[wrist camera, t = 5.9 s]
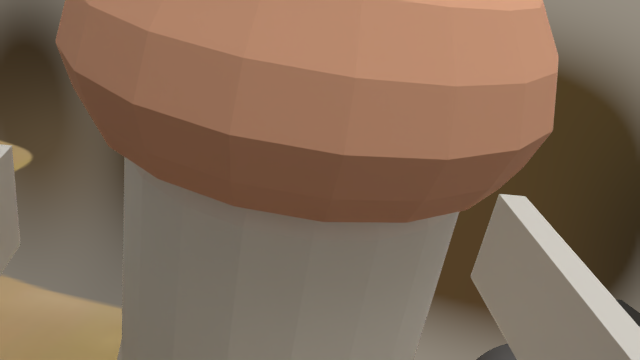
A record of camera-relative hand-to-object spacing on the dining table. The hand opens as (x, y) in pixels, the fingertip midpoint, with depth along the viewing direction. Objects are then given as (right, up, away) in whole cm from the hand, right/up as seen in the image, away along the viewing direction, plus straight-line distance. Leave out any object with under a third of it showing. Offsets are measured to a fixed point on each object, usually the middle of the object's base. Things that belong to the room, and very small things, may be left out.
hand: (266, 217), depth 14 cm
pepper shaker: (-1, -12, +1) cm, 12 cm away
